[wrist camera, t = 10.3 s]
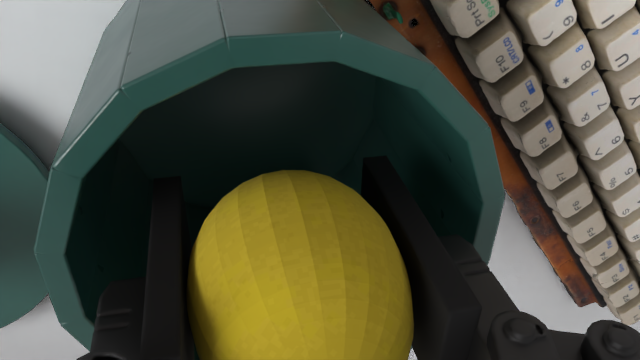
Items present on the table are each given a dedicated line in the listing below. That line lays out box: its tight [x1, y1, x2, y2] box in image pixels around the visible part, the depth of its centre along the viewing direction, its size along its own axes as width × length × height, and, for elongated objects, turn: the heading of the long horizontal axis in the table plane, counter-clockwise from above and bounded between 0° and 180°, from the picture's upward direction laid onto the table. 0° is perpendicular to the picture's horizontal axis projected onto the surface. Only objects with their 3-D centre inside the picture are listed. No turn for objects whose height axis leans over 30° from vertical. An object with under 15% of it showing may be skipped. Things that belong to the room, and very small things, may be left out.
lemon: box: [186, 170, 414, 360], centre depth 14 cm, size 6×6×8 cm
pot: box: [34, 0, 505, 360], centre depth 19 cm, size 12×12×10 cm
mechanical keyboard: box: [369, 0, 640, 325], centre depth 24 cm, size 38×19×3 cm, turn 37°
